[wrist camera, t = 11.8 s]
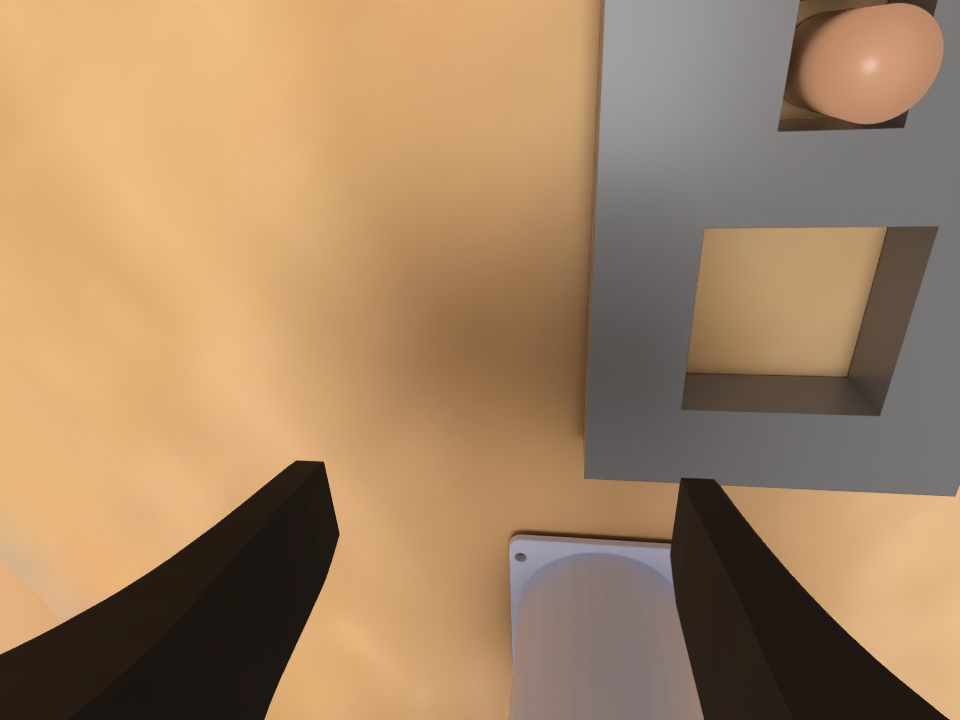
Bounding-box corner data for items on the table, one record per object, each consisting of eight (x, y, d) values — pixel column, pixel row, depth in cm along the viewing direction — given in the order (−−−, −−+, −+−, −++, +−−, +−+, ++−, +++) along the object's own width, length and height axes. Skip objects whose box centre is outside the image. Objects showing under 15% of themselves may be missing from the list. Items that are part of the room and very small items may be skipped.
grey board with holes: (916, 451, 22) (955, 496, 20) (583, 438, 24) (584, 478, 21) (1108, -89, 14) (1204, -113, 12) (603, -52, 16) (608, -67, 14)
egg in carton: (859, 108, 17) (925, 122, 14) (768, 111, 17) (812, 125, 14) (882, 8, 16) (959, -1, 13) (784, 13, 16) (835, 6, 13)
